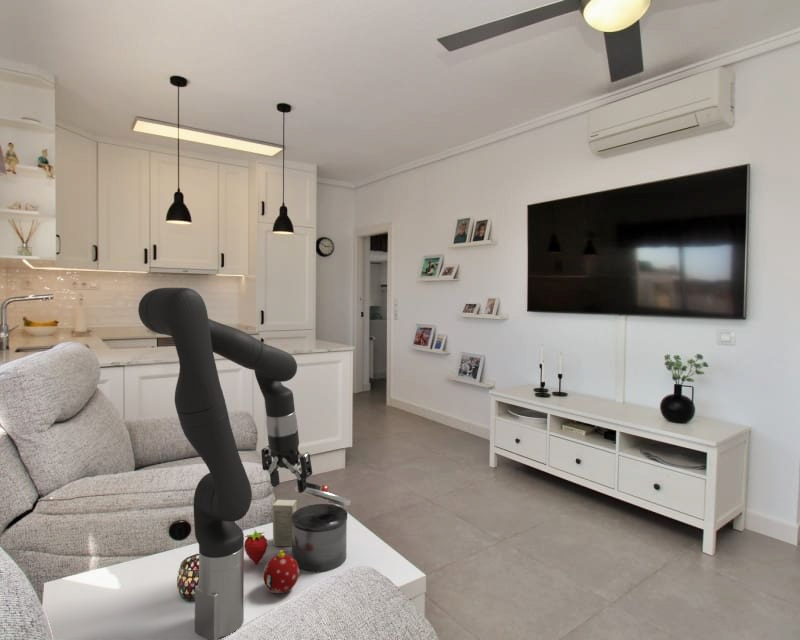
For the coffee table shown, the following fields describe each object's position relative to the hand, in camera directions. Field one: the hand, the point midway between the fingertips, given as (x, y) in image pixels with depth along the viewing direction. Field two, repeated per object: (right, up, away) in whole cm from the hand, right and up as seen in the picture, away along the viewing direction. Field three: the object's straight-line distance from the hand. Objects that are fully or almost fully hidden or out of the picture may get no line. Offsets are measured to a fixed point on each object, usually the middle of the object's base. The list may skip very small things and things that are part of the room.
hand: (289, 488), depth 123 cm
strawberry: (-10, -23, +6) cm, 26 cm away
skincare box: (-5, -23, +18) cm, 30 cm away
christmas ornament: (-1, -24, -5) cm, 24 cm away
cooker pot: (+6, -23, +10) cm, 26 cm away
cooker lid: (+7, -7, +11) cm, 15 cm away
